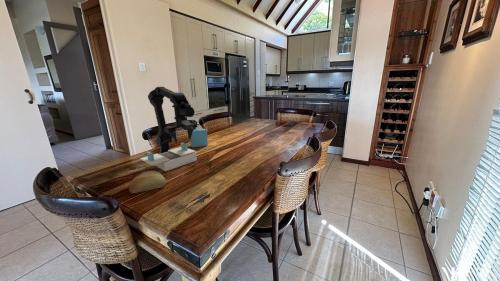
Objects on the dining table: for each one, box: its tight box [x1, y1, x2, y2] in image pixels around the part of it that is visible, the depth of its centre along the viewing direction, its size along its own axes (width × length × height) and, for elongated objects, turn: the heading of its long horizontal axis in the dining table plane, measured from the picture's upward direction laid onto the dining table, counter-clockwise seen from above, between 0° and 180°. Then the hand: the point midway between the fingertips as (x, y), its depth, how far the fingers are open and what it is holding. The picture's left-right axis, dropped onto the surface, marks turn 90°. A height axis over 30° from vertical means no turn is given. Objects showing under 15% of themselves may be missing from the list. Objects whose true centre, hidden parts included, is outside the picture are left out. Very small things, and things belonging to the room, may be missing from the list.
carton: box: [154, 152, 198, 172], centre depth 122 cm, size 15×20×5 cm
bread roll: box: [128, 170, 167, 194], centre depth 92 cm, size 10×15×8 cm, turn 123°
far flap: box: [168, 142, 197, 156], centre depth 124 cm, size 14×10×4 cm, turn 49°
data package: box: [189, 128, 209, 148], centre depth 151 cm, size 12×4×12 cm, turn 109°
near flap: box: [139, 151, 170, 166], centre depth 112 cm, size 14×10×4 cm, turn 49°
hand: (183, 141), depth 125 cm, fingers open, 9 cm apart
